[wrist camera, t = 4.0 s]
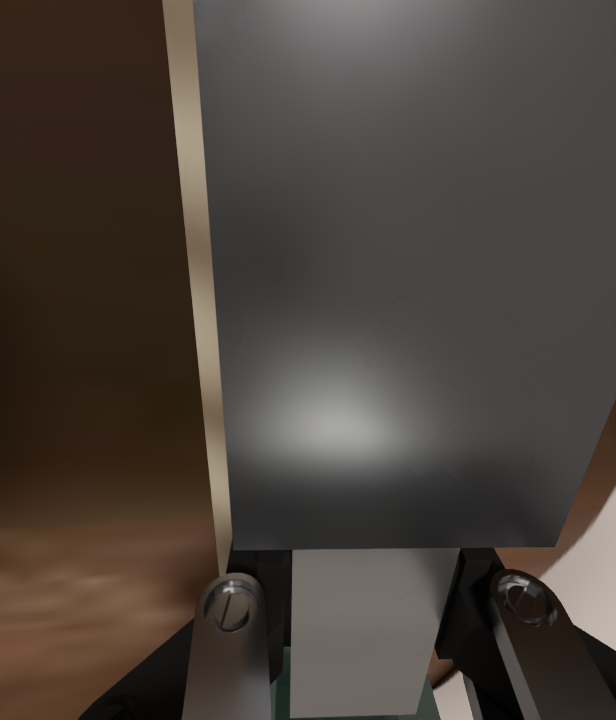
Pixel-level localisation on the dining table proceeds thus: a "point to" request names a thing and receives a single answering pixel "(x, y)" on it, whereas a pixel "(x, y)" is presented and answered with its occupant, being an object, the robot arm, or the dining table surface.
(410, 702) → the tube
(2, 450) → the dining table surface
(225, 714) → the robot arm
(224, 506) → the base board
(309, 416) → the sleeve
